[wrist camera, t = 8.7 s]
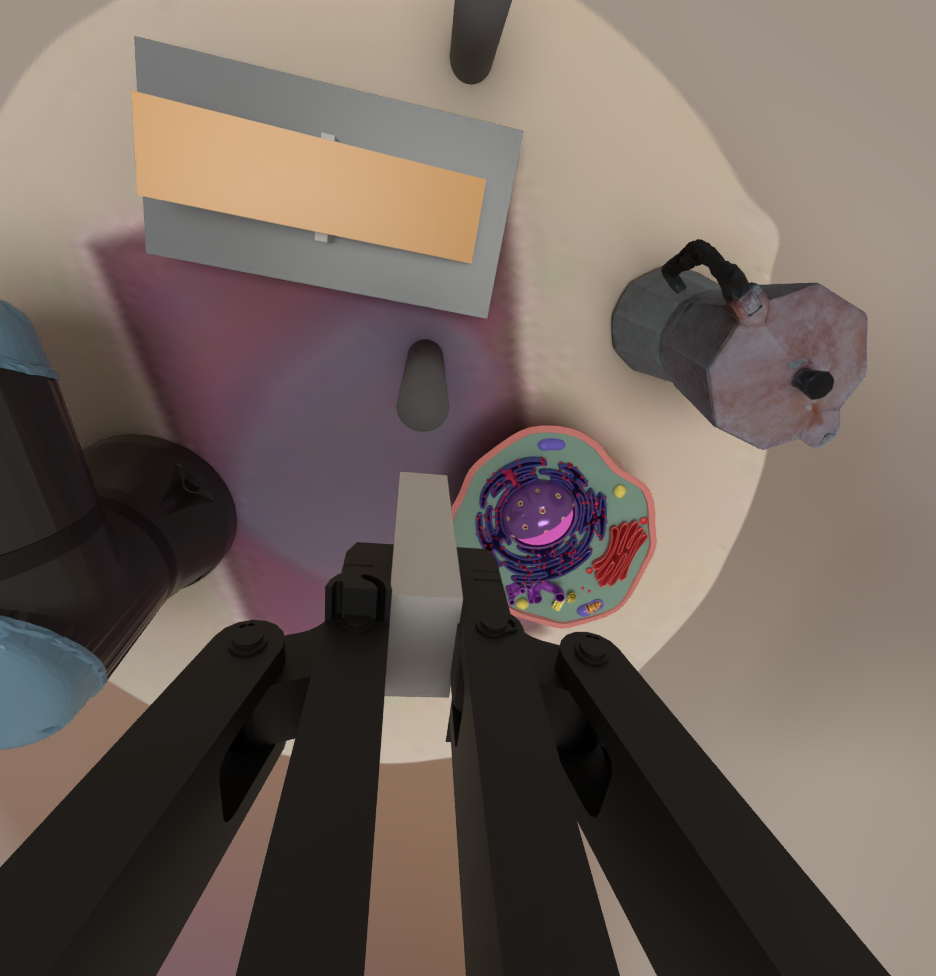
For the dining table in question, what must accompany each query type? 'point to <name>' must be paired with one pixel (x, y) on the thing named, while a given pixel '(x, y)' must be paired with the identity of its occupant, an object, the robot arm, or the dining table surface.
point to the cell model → (558, 524)
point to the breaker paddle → (301, 180)
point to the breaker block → (345, 122)
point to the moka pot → (745, 347)
